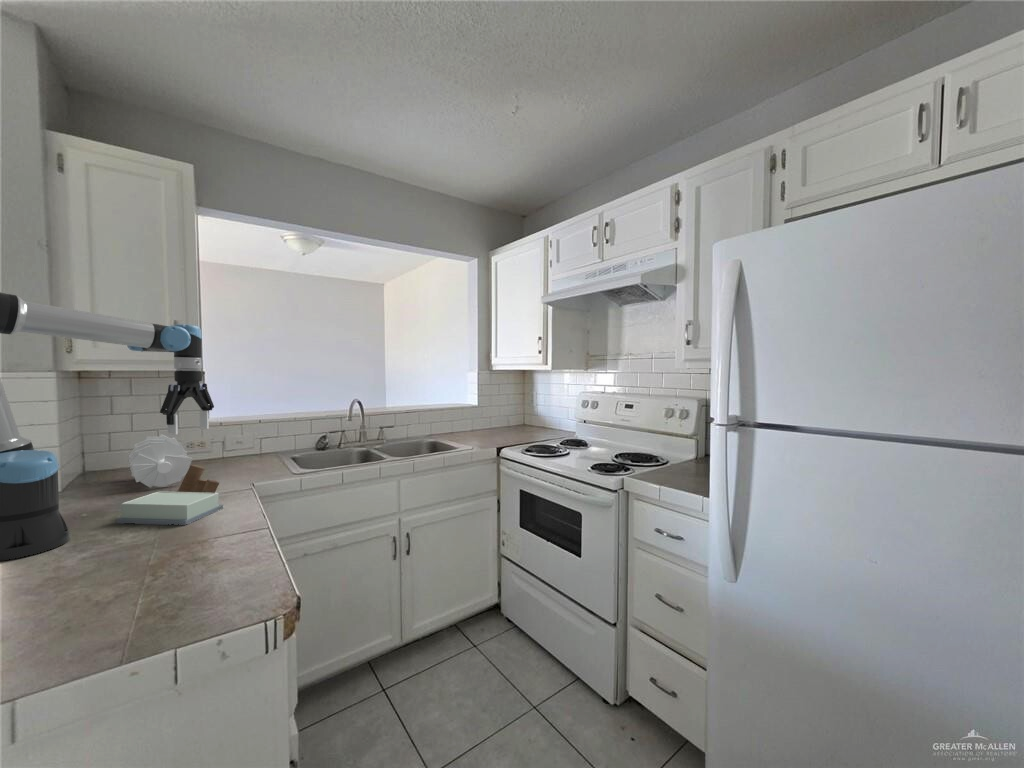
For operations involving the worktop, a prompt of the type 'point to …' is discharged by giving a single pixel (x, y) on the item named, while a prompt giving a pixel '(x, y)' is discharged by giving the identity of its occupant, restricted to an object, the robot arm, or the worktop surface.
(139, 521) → the base
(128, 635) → the worktop surface
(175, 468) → the spiral staircase
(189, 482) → the wooden block set
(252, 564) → the worktop surface
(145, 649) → the worktop surface
